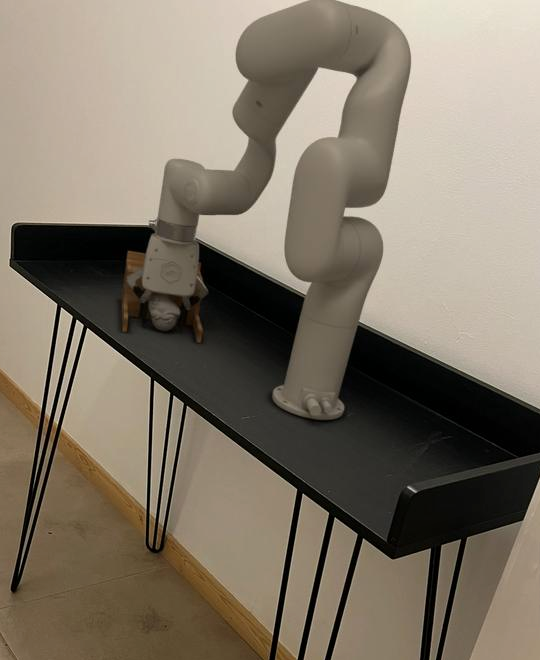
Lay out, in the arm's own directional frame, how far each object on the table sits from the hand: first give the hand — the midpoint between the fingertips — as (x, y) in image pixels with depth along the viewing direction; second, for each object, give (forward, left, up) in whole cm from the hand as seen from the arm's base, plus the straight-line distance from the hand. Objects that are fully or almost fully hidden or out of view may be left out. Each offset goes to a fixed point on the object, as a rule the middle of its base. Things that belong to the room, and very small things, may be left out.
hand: (161, 323), depth 165 cm
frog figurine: (0, 0, -1) cm, 1 cm away
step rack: (+6, 0, -1) cm, 6 cm away
